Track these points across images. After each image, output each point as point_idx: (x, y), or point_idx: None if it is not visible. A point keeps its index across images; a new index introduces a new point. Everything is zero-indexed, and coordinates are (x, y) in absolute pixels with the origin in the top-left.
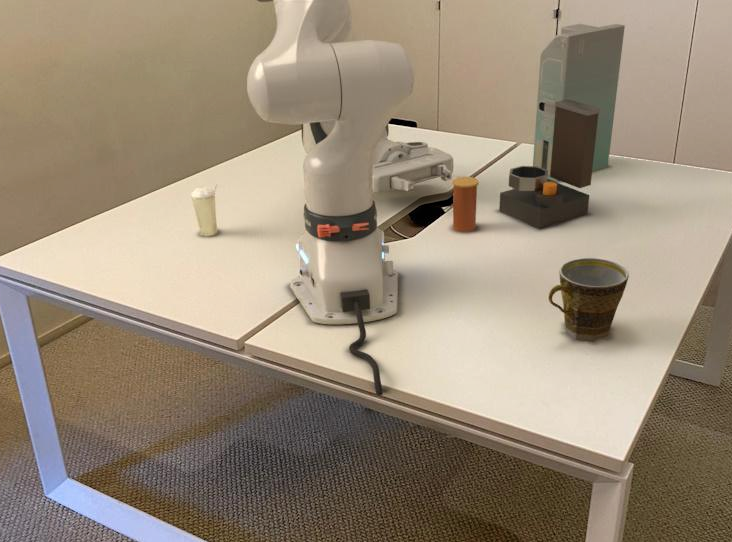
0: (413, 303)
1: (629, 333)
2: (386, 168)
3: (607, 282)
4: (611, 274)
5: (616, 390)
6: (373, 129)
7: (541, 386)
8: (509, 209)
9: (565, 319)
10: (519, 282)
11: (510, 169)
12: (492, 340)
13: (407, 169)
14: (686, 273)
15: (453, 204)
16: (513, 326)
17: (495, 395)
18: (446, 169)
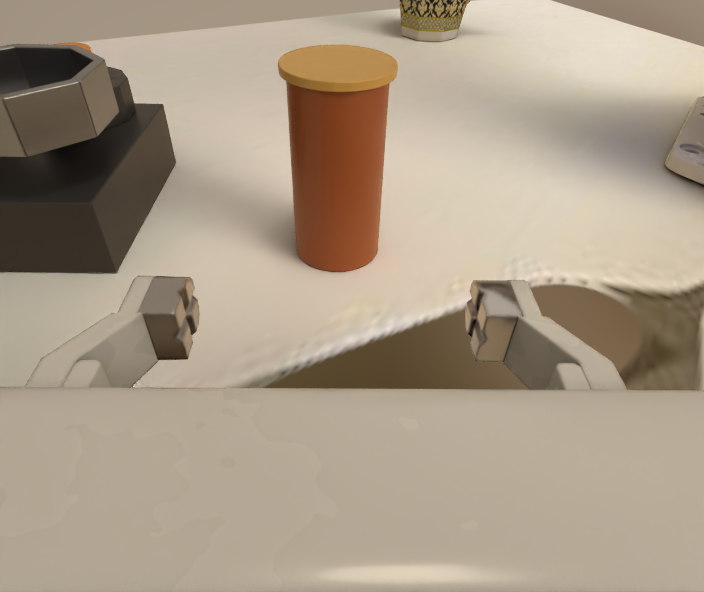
0: (650, 114)
1: (386, 24)
2: (666, 536)
3: None
4: None
5: (476, 8)
6: None
7: (544, 22)
8: (128, 216)
9: (463, 13)
10: (420, 90)
11: (10, 97)
12: (556, 53)
13: (440, 389)
14: (181, 39)
15: (378, 173)
16: (511, 56)
17: (600, 27)
18: (123, 308)
